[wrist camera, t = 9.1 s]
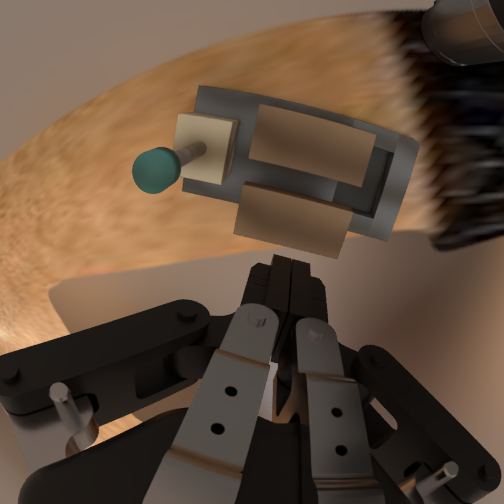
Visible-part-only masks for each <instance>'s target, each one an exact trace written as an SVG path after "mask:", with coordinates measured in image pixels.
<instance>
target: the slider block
mask: <svg viewBox="0 0 504 504" xmlns="http://www.w3.org/2000/svg"><path fill="white" fill-rule="evenodd" d="M239 125H240V120H237V119H231V118H226V117H220V116H214V115H208V114H201V113H194V112H190V113H179V114H178V120H177V126H176V133H175V139H174V146H173V151H172V150H171V149H169V148H166V147H158V148H155V149H152V150H149V151H147V152H144V153H142V154H140V155H139V156H138V157H137V158H136V160H135V162H134V164H133V168H132V174H133V178H134V181H135V183H136V185H137V186H138V187H139V188H140V189H141V190H142V191H144V192H146V193H150V194H157V193H160V192H162V191H164V190H165V189H166V188H168V187H169V186H171V185H172V184H174V183H175V182H176V181H177V180H178V178H179V176H180V177H185V178H190V179H195V180H200V181H205V182H209V183H214V184H219V185H221V184H222V183H223V182H224V181H225V180H226V179H227V178H228V177H229V176H230V172H231V166H232V161H233V156H234V151H235V145H236V140H237V135H238V130H239Z"/></svg>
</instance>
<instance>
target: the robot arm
mask: <svg viewBox="0 0 504 504" xmlns="http://www.w3.org/2000/svg"><path fill="white" fill-rule="evenodd" d="M421 31H422V34H423V38H424V40H425V42H426V44H427V46H428V47H429V49H430V50H431V51H432V52H433V53H434V55H435V56H437V57H438V58H439V59H440V60H442V61H443V62H445V63H447V64H450V65H452V66H466V65H473V64H481V63H489V62H498V61H504V0H436V1H434V6H433V7H431V8H429V9H428V10H427V11H426V12H425V13H424V15H423V17H422V21H421ZM271 355H272V356H271ZM270 357H271V362H274V363H278V370H277V372H276V374H275V376H274V379H273V401H272V402H273V403H272V422H271V421H269V420H266V419H264V418H262V417H259V416H258V413H259V409H260V405H261V401H262V398H263V393H264V389H265V386H266V382H267V378H268V374H269V369H270V365H269V361H270ZM198 379H202V380H201V383H200V385H199V387H198V389H197V391H196V393H195V396H194V398H193V400H192V402H191V404H190V407H189V408H180V409H174V410H170V411H167V412H164V413H161V414H159V415H157V416H155V417H153V418H151V419H149V420H147V421H145V422H143V423H141V424H139V425H137V426H135V427H133V428H131V429H129V430H127V431H125V432H123V433H121V434H118V435H116V436H114V437H112V438H110V439H108V440H106V441H103V442H101V443H99V444H97V445H95V446H92V447H90V448H88V449H86V450H84V449H85V448H87V447H89V446H90V445H92V444H93V443H94V442H95V441H96V439H97V437H98V434H99V426H102V425H104V424H107V423H109V422H112V421H114V420H116V419H119V418H121V417H123V416H126V415H128V414H130V413H133V412H135V411H137V410H139V409H142V408H144V407H146V406H148V405H151V404H153V403H155V402H157V401H159V400H162V399H164V398H166V397H168V396H170V395H172V394H174V393H176V392H178V391H180V390H183V389H185V388H187V387H189V386H191V385H193V384H194V383H196V382H197V381H198ZM374 398H376V399H377V400H378V401H379V402H380V403H381V404H382V405H383V407H384V408H385V409H386V410H387V411H388V412H389V413H390V414H391V415H392V416H393V417H394V418H395V420H396V421H397V425H398V428H397V430H395V429H393V428H392V427H391V426H390V425H389V424H388V423H387V422H386V421H385V420H384V419H383V418H382V416H381V415H380V414H379V413H378V412H377V411H376V410H375V409H374V408H373V407H372V405H371V404H370V403H371V401H372V400H373V399H374ZM0 404H1V406H2V408H3V409H4V411H5V412H6V414H7V415H8V417H9V418H10V421H11V424H12V427H13V430H14V433H15V436H16V439H17V441H18V444H19V447H20V449H21V452H22V454H23V457H24V459H25V461H26V464H27V466H28V468H29V471H30V473H31V475H30V476H29V477H28V478H27V479H26V481H25V482H24V484H23V486H22V488H21V490H20V494H19V498H18V504H472V503H474V502H476V501H478V500H479V499H481V498H482V497H484V496H486V495H487V494H489V493H491V492H492V491H493V490H495V489H496V488H497V487H498V486H499V484H500V481H501V469H500V466H499V464H498V463H497V461H496V460H495V459H494V458H493V457H492V456H491V455H490V454H489V453H488V451H487V450H486V449H485V448H484V447H483V446H482V445H481V444H480V443H479V442H478V441H477V440H476V439H475V438H474V437H473V436H472V435H471V434H470V433H469V432H468V431H467V430H466V429H465V428H464V427H463V426H462V425H461V424H460V423H459V422H458V421H457V420H456V419H455V418H454V417H453V416H452V415H451V414H450V413H449V412H448V411H447V410H446V409H445V408H444V407H443V406H442V405H441V404H440V403H439V402H438V401H437V400H436V399H435V398H434V397H433V396H432V395H431V394H430V393H429V392H428V391H427V390H426V389H425V388H424V387H423V386H422V385H421V384H420V383H419V382H418V381H417V380H416V379H415V378H414V377H413V376H412V375H411V374H410V373H409V372H408V371H407V370H406V369H405V368H404V367H403V366H402V365H401V364H400V363H399V362H398V361H397V360H396V359H395V358H394V357H393V356H392V355H391V354H390V353H389V352H387V351H386V350H385V349H383V348H381V347H378V346H375V345H365V346H363V347H362V348H360V350H359V351H358V352H357V351H354V350H352V349H350V348H348V347H346V346H344V345H342V344H340V343H339V342H338V340H337V335H336V332H335V331H334V329H333V328H332V327H331V326H330V325H329V324H328V313H327V303H326V292H325V286H324V285H323V283H322V281H321V280H320V279H319V278H316V277H312V276H311V275H310V264H309V263H306V262H302V261H298V260H294V259H292V261H291V258H287V257H283V256H279V255H275V254H274V255H273V258H272V261H271V265H266V264H262V263H257V264H256V265H254V266H253V267H251V270H250V274H249V277H248V281H247V284H246V287H245V291H244V294H243V298H242V301H241V305H240V307H238V308H237V310H236V312H234V313H232V314H230V315H225V316H210V314H209V311H208V310H207V308H206V307H204V306H203V305H202V304H200V303H198V302H196V301H192V300H186V299H185V300H184V299H182V300H176V301H173V302H170V303H167V304H163V305H160V306H157V307H154V308H152V309H148V310H145V311H142V312H139V313H136V314H133V315H130V316H127V317H124V318H121V319H117V320H114V321H111V322H108V323H105V324H102V325H98V326H95V327H92V328H89V329H86V330H82V331H79V332H76V333H73V334H70V335H66V336H63V337H60V338H57V339H53V340H50V341H47V342H43V343H40V344H37V345H34V346H30V347H27V348H23V349H20V350H17V351H13V352H10V353H7V354H4V355H1V356H0Z"/></svg>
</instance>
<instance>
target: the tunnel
mask: <svg viewBox="0 0 504 504" xmlns="http://www.w3.org/2000/svg"><path fill="white" fill-rule="evenodd" d="M194 113H201V114H208V115H214V116H220V117H226V118H231V119H237V120H240V125H239V130H238V135H237V140H236V145H235V151H234V156H233V161H232V166H231V172H230V176H229V177H228V178H227V179H226V180H225V181H224V182H223V183H222V184H221V185H219V184H214V183H209V182H205V181H200V180H195V179H190V178H185V177H184V179H183V187H182V191H183V192H188V193H193V194H197V195H202V196H207V197H211V198H216V199H220V200H225V201H229V202H234V203H238V204H239V208H238V213H237V218H236V223H235V228H234V233H233V234H236V235H240V236H244V237H248V238H253V239H257V240H261V241H265V242H269V243H273V244H277V245H282V246H286V247H290V248H294V249H298V250H302V251H306V252H310V253H314V254H318V255H322V256H326V257H330V258H334V259H337V258H338V256H339V253H340V250H341V247H342V244H343V241H344V239H345V236H346V233H347V231H350V232H354V233H358V234H361V235H365V236H369V237H372V238H376V239H380V240H383V241H386V242H387V241H388V239H389V236H390V234H391V231H392V228H393V226H394V223H395V220H396V217H397V215H398V212H399V209H400V206H401V203H402V200H403V198H404V195H405V192H406V189H407V186H408V183H409V179H410V176H411V173H412V170H413V167H414V163H415V160H416V157H417V153H418V150H419V146H420V143H421V142H418V141H416V140H413V139H411V138H408V137H406V136H403V135H400V134H398V133H395V132H392V131H389V130H386V129H384V128H381V127H378V126H375V125H372V124H369V123H366V122H363V121H360V120H356V119H353V118H350V117H347V116H343V115H340V114H336V113H333V112H329V111H326V110H322V109H318V108H315V107H311V106H307V105H303V104H299V103H294V102H290V101H286V100H281V99H277V98H272V97H267V96H262V95H257V94H252V93H246V92H241V91H235V90H228V89H222V88H215V87H208V86H200V85H199V88H198V93H197V98H196V104H195V109H194Z"/></svg>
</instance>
